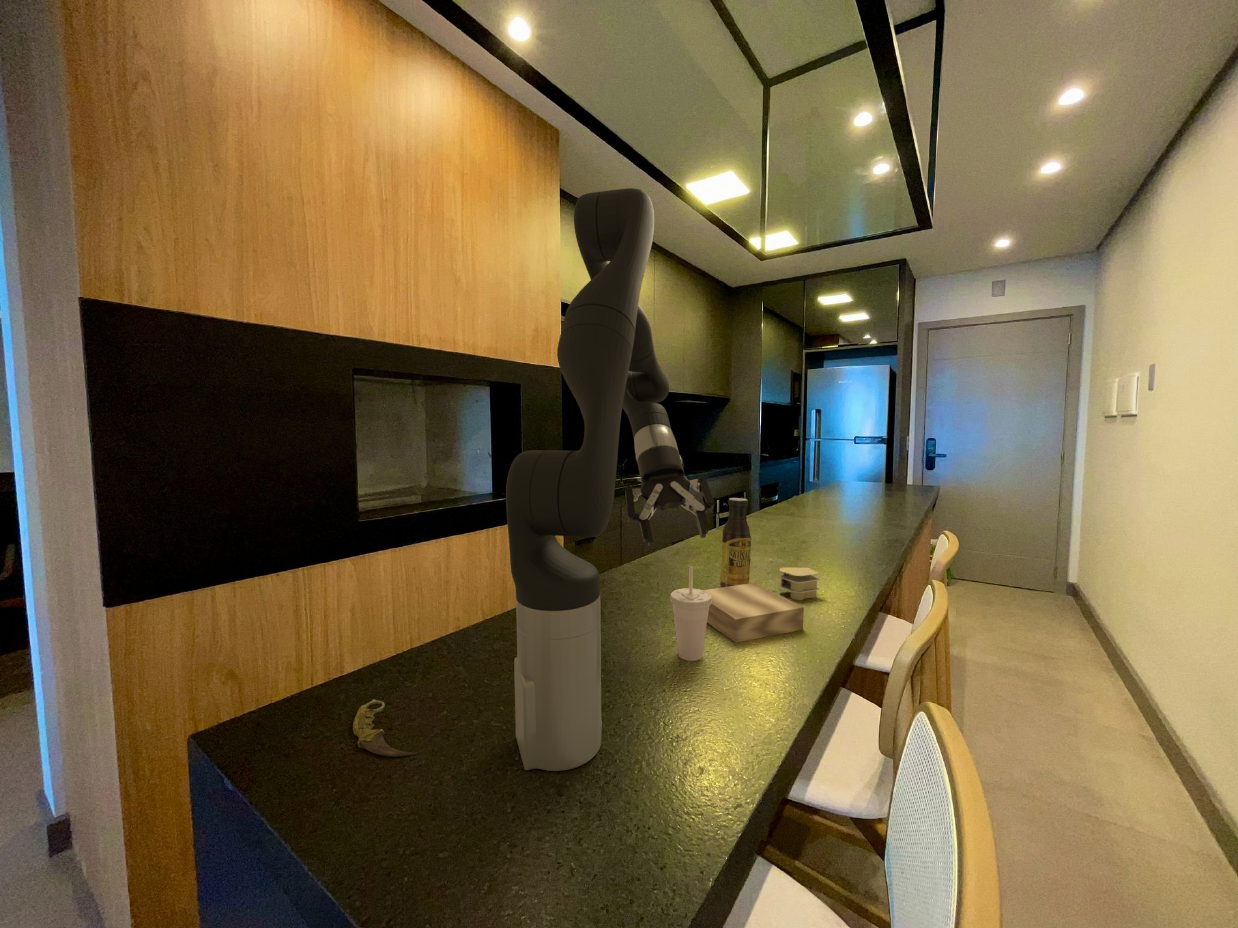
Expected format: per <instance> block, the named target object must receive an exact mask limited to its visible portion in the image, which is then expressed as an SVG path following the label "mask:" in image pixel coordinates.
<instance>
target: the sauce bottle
mask: <svg viewBox="0 0 1238 928" xmlns="http://www.w3.org/2000/svg"><path fill="white" fill-rule="evenodd" d="M728 506H729V508H728V515H727V516H728V520H727V521H726V522H725V524H724V527H723V528H722V537H721V548H720V549H721V551H720V553H721V554H720V568H719V569H720V571H719V580H720V582H719V585H720V588H722V587H729V586H736V585H743V584H749V583H750V573H751V571H750V570H751V568H750V567H751V554H752V553H751V550H752V536H751V535H752V534H751V530H750V526H749V523H748V520H747V518H748V517H747V513H748V511H747V509H748V506H749V500H748V499H747V498H742V497H741V498H739V497H730V498H728Z"/></svg>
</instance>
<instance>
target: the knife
mask: <svg viewBox="0 0 1238 928" xmlns="http://www.w3.org/2000/svg"><path fill="white" fill-rule="evenodd" d="M376 704H380V705H381V706H380V707H378V708H376V709H375V708H373V709H372V708H368V707H370V706H372V705H376ZM384 708H385V702H384V701H382V700H376V699H375V698H373V699H372V700H371V701H369V702H367V703H366V704H361V706H359V708H358V709H357V712H356V714H355V717H354V718H353V723H352V732H353V733H352V734H354V736H357V738H358V740H357V746H358V748H362V749H365V750H366V751H368V752H371V753H373V754H375V755H378V756H379V755H380V756H383V757H395V758H397V757H408V756H409V757H410V756H414V755H419V754H422V753H423V751H421V752H413V751H411V752H410V751H404V750H399V749H396V748H395V747H391V746H390V745H389V744H388V743H387V742H386V741H385V739H384V735H385V730H384V729H383V728H380V729H373V728H374V727H375V724H374V723H373V722H374V720H375V718H376V717H375V716H374V715H375V714H378V712H381V711H382V710H383V709H384Z"/></svg>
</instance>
